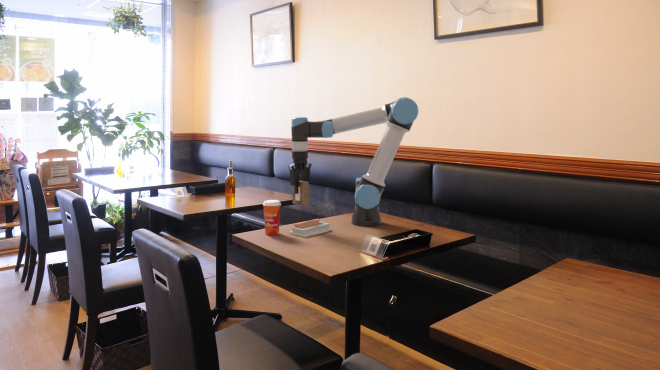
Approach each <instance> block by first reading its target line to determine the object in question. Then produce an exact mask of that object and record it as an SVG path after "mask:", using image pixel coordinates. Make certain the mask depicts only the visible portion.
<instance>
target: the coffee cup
mask: <svg viewBox="0 0 660 370" xmlns="http://www.w3.org/2000/svg"><path fill="white" fill-rule="evenodd" d="M262 206H263V217H264V218H263V221H264V233H265V235H266V236H277V235H279V233H280V220H281V206H282V203H281V201H280V200H278V199H267V200H264V201H263V203H262Z"/></svg>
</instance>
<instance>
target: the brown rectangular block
mask: <svg viewBox="0 0 660 370" xmlns="http://www.w3.org/2000/svg"><path fill="white" fill-rule="evenodd" d="M309 185H310V184H309V182H307V181H301V180H300V181H299V187H300V200H301V201H298V200H295V193H294V186H292V187H291V189H292V204H294V205H299V206H308V205H310V187H309Z"/></svg>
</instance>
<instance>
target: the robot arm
mask: <svg viewBox="0 0 660 370" xmlns="http://www.w3.org/2000/svg"><path fill="white" fill-rule="evenodd" d="M418 116H419V107H418V105H417V103H416V101H414V100H413V99H411V98H410V97H406V96H405V97H404V96H403V97H400V98H398V99H396V100H395V101H392V102H390V103H386V104H383V106H382V107H379V108H373V109H368V110H364V111H361V112H355V113H352V114H348V115H344V116H343V115H342V116H339V117H334V118H329V119H325V120H321V121H320V120H319V121H309V120H308V117H303V116H302V117H299V116H298V117H295V116H294V117H293V118H291V126H290V127H291V128H290V129H291V150H292V151H291V159H292V160H293V161H292V163H291V164H288V169H289V180H290V186H294V193H295V200H298V201H301V200H300V187H299V181H307V182H309V185H310V184H311V168H312V163H310V162H308V159H309V152H308V149H309V142H308V141H309V140H308V138H309V139H311V138H313V139H314V138H316V139H317V138H318V139H319V138H320V139H321V138H323V139H327V138H333V137H334V135H336V134H337V135H338V134H340V133H345V132H350V131H355V130H359V129H363V128H367V127H372V126H376V125H377V126H378V125H381V124H386V129H385V131H384V133H383V135H382V138H381V140H380V142H379V145H378V147H377V150H376V152H375V154H374V157H373V159H372V160H371V163H370V166H369V168H368V170H367V172H366V173H365V174H363V175H362V176H361V177H357V178H355V193H354V200H355V204H354V205H355V206H354V210H353V213H352V216H351V224H353V225H356V226H363V227H375V226H380V225H382V222H383V221H382V215H381V212H380V209H379V205H380V204H379V203H380V201H381V196H382V194H383V192H384V190H385V187H386V184H385V179H386V177H387V175H388V172H389V170H390V168H391V166H392V163H393V161H394V159H395V156H396V154H397V151H398V150H399V147H400V145H401V144H402V141H403V138H404V136H405V134H406V133H409V132H410V130H411V128H412V126H413V124H414V122H415V121H416V119H417V117H418Z"/></svg>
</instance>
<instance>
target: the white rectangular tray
mask: <svg viewBox="0 0 660 370" xmlns="http://www.w3.org/2000/svg"><path fill="white" fill-rule="evenodd" d="M293 225H294V226H293V227H291V230H289V234H290V235H295V236H298V237H303V238H309V237H312V236H317V235H320V234H323V233H327V232H331V231H333V227H330V223H329V222H323V221H320V218H315V219H311V220H305V221H301V222H296V223H294V224H293Z"/></svg>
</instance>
